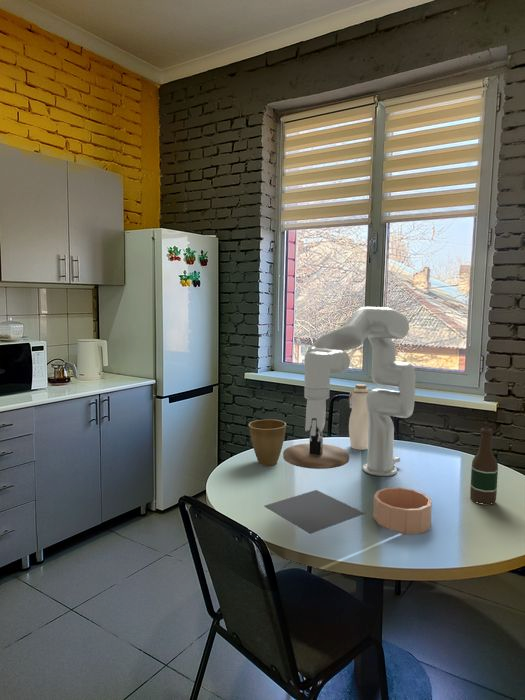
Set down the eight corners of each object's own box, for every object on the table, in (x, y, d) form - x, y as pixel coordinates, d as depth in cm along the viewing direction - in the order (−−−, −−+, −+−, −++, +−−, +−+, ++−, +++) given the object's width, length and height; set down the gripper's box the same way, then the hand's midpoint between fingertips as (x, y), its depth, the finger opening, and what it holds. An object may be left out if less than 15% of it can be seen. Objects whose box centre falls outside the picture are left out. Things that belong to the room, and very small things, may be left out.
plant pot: (269, 454, 203) (269, 417, 201) (293, 463, 191) (293, 424, 190) (241, 461, 193) (241, 423, 192) (264, 472, 182) (264, 430, 180)
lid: (318, 443, 161) (318, 425, 160) (363, 459, 144) (363, 439, 144) (270, 454, 149) (270, 435, 148) (313, 473, 133) (313, 452, 132)
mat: (316, 491, 164) (316, 489, 164) (364, 515, 146) (365, 513, 146) (263, 507, 151) (263, 505, 151) (310, 535, 133) (310, 533, 133)
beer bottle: (494, 497, 159) (498, 426, 157) (497, 507, 152) (501, 433, 149) (469, 494, 162) (472, 424, 159) (470, 503, 154) (474, 430, 152)
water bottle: (355, 451, 207) (357, 387, 204) (342, 446, 215) (344, 384, 212) (374, 448, 211) (375, 385, 208) (361, 443, 219) (362, 382, 216)
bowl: (397, 504, 153) (398, 483, 153) (441, 523, 140) (442, 500, 140) (362, 518, 144) (363, 495, 143) (406, 539, 131) (407, 515, 130)
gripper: (309, 387, 154) (308, 443, 156) (299, 397, 137) (299, 459, 139) (332, 388, 152) (331, 444, 154) (325, 399, 136) (325, 462, 138)
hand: (316, 451), depth 146 cm, fingers closed on lid, 4 cm apart
